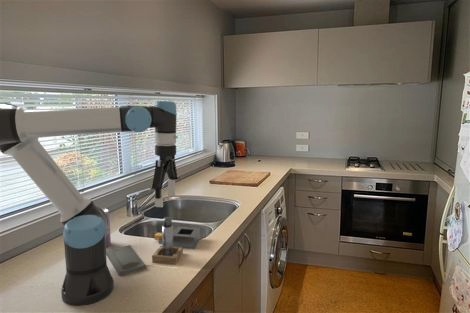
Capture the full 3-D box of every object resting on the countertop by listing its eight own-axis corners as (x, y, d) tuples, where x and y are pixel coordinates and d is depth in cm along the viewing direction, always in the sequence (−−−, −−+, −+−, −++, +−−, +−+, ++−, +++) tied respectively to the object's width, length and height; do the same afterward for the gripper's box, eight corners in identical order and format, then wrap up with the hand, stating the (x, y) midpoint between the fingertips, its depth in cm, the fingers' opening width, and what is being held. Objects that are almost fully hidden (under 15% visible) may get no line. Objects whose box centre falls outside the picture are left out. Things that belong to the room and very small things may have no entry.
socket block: (194, 251, 133) (194, 237, 132) (156, 248, 135) (156, 234, 134) (200, 241, 143) (200, 228, 142) (165, 238, 145) (164, 225, 144)
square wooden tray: (175, 266, 120) (175, 258, 120) (152, 264, 122) (152, 256, 121) (182, 255, 129) (182, 247, 129) (160, 253, 130) (160, 245, 130)
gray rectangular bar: (171, 261, 123) (170, 220, 120) (161, 260, 124) (160, 219, 121) (174, 256, 127) (174, 216, 124) (164, 255, 128) (164, 216, 125)
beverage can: (106, 240, 141) (104, 207, 139) (113, 244, 138) (112, 210, 135) (92, 245, 137) (90, 211, 134) (100, 249, 133) (98, 214, 131)
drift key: (170, 240, 138) (170, 236, 137) (154, 239, 139) (154, 235, 138) (172, 238, 141) (172, 233, 140) (157, 236, 142) (157, 232, 141)
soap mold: (131, 249, 135) (131, 241, 135) (147, 270, 119) (147, 261, 118) (105, 255, 130) (104, 246, 129) (118, 278, 113) (117, 269, 113)
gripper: (163, 149, 105) (163, 212, 109) (185, 141, 130) (184, 192, 133) (141, 148, 106) (142, 211, 110) (167, 140, 131) (167, 191, 134)
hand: (165, 201), depth 121 cm, fingers open, 13 cm apart
